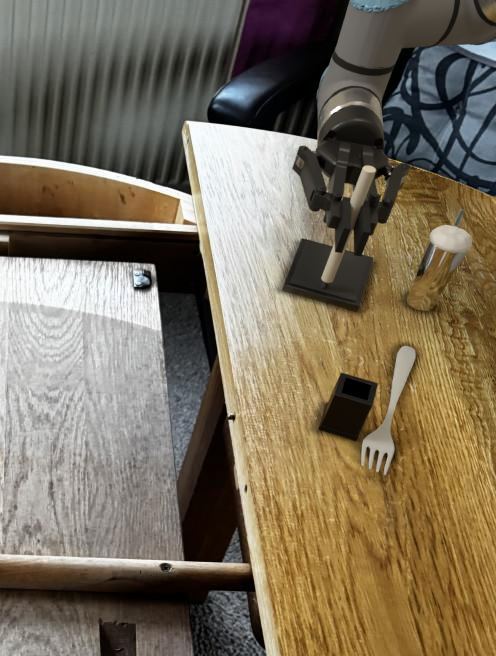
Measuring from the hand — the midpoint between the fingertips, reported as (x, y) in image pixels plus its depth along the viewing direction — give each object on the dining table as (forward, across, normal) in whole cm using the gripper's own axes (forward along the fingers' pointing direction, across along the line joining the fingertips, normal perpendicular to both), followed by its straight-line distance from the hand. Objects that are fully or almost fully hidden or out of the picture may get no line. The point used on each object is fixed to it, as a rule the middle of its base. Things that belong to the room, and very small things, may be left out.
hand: (352, 242), depth 98 cm
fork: (+14, -7, -10) cm, 18 cm away
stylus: (-6, 0, -9) cm, 11 cm away
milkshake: (-8, -12, -10) cm, 17 cm away
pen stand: (+17, -2, -10) cm, 20 cm away
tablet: (-10, -1, -10) cm, 14 cm away
